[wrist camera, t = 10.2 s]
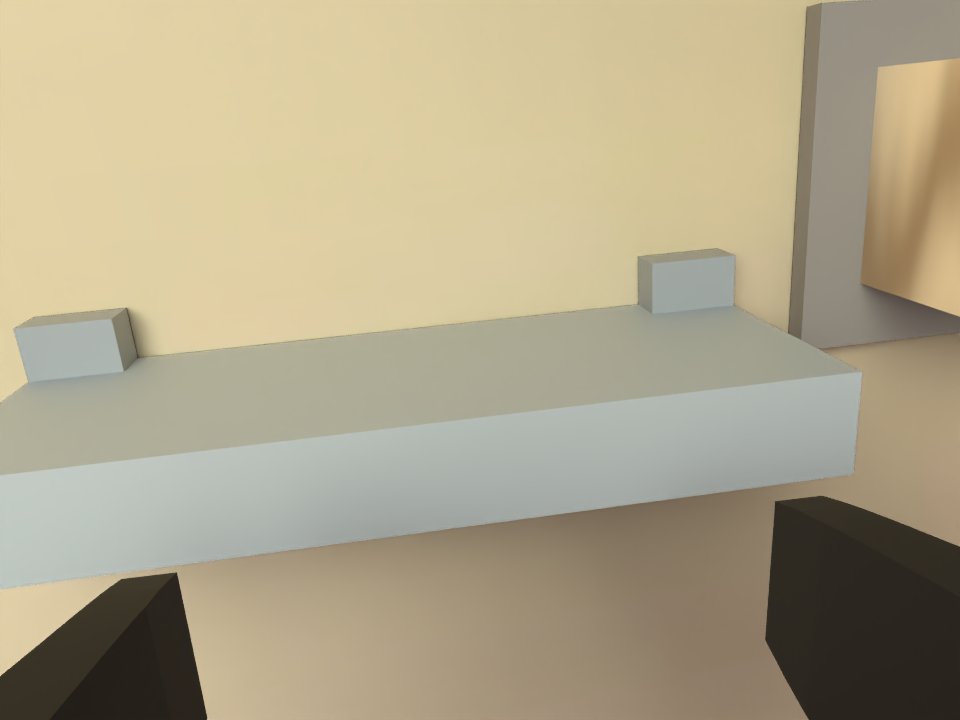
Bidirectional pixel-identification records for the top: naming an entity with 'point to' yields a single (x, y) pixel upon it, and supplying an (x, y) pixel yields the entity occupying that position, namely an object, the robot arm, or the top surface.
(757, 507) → the top surface
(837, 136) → the mat
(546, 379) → the light grey drawer handle
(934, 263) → the wooden letter cube
